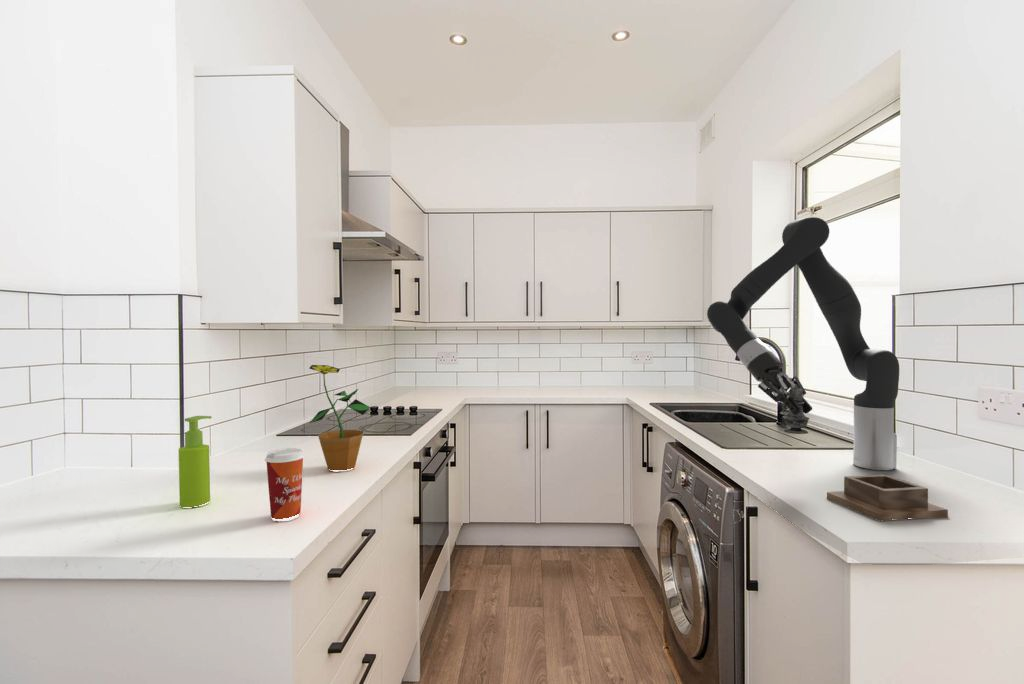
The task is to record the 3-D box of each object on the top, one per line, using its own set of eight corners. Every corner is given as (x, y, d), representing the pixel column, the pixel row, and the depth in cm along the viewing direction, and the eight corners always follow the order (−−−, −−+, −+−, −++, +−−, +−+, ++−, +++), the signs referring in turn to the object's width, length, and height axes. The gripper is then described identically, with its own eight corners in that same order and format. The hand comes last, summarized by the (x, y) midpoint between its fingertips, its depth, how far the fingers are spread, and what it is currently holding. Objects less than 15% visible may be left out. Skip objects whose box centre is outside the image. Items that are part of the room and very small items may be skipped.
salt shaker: (813, 434, 120) (813, 385, 120) (786, 433, 122) (787, 385, 121) (804, 429, 126) (804, 382, 126) (779, 429, 127) (779, 382, 127)
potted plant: (314, 482, 130) (312, 367, 129) (304, 465, 146) (302, 363, 145) (382, 472, 139) (381, 364, 138) (365, 457, 155) (364, 361, 154)
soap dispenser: (220, 499, 117) (218, 414, 116) (192, 510, 110) (190, 420, 110) (201, 497, 119) (199, 413, 118) (173, 507, 112) (171, 418, 112)
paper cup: (280, 527, 100) (278, 458, 100) (258, 519, 104) (256, 453, 104) (313, 514, 107) (312, 449, 107) (291, 508, 111) (290, 445, 111)
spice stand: (888, 494, 117) (888, 471, 117) (947, 516, 104) (948, 490, 103) (826, 498, 115) (827, 474, 115) (879, 521, 101) (879, 494, 101)
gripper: (750, 351, 127) (796, 405, 116) (785, 349, 133) (832, 400, 123) (732, 370, 131) (775, 424, 121) (767, 368, 138) (810, 418, 128)
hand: (803, 411), depth 122 cm, fingers closed on salt shaker, 3 cm apart
